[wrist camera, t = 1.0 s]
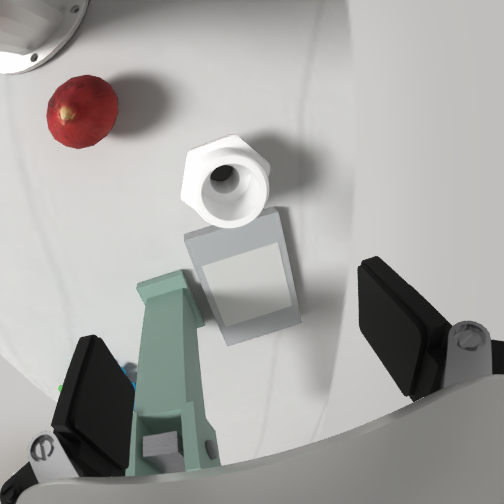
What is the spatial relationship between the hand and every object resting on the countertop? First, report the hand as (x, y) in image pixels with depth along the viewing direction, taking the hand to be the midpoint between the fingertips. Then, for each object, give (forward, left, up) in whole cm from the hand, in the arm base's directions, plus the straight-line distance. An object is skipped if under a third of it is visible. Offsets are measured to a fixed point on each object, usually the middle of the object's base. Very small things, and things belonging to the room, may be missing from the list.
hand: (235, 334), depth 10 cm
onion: (-10, -7, -20) cm, 23 cm away
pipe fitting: (-1, +2, -20) cm, 20 cm away
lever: (+19, -7, -3) cm, 21 cm away
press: (+11, -1, -20) cm, 23 cm away
